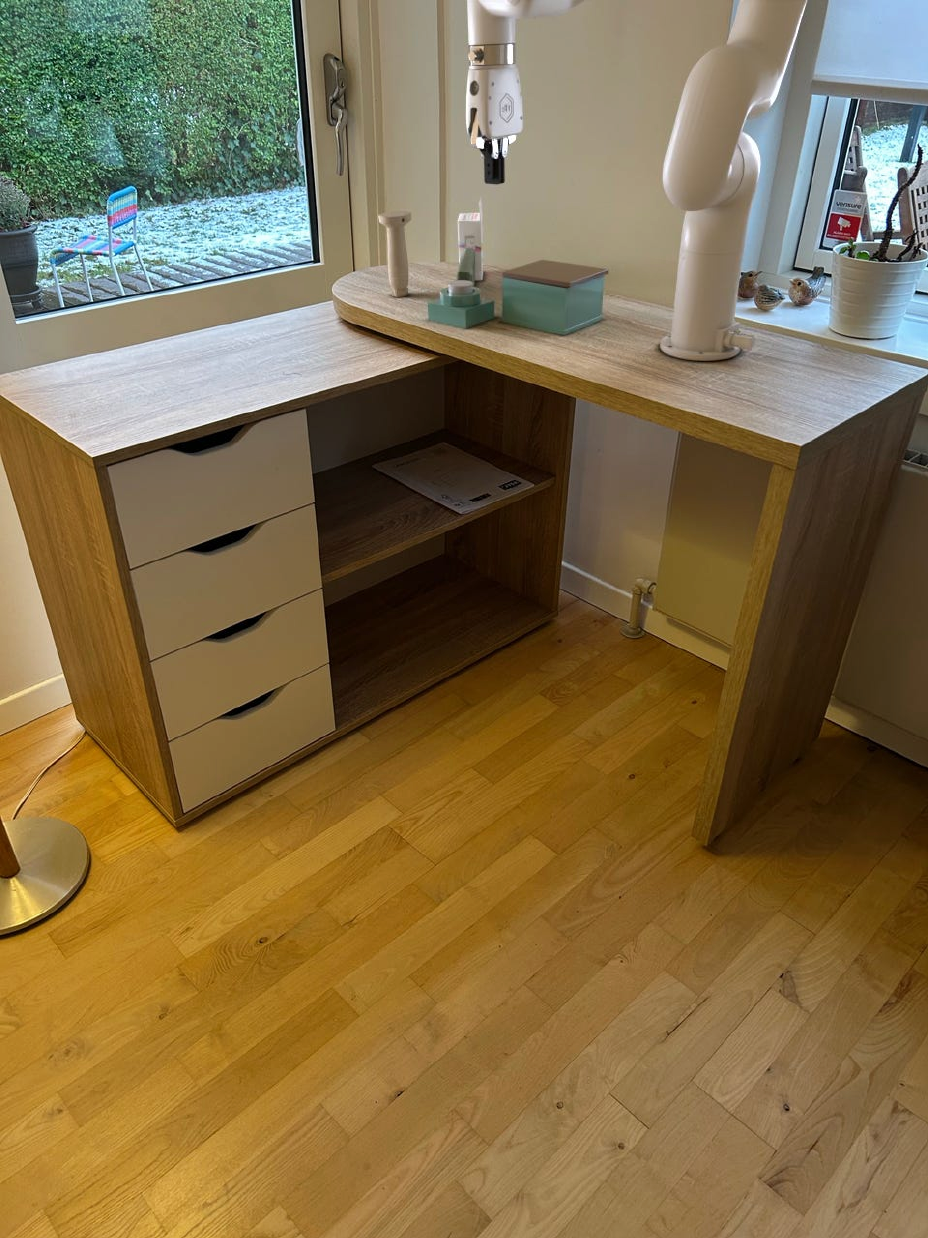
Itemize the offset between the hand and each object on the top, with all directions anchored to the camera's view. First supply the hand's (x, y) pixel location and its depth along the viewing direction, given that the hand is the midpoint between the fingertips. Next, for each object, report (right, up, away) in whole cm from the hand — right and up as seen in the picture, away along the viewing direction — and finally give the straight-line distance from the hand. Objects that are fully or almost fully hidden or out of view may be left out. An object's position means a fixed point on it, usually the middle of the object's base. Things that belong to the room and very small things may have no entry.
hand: (494, 182), depth 156 cm
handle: (-18, -11, +25) cm, 32 cm away
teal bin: (+11, -21, +7) cm, 25 cm away
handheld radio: (-5, -9, +26) cm, 28 cm away
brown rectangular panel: (+11, -15, +2) cm, 18 cm away
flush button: (-6, -16, +7) cm, 19 cm away
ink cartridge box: (-4, -3, +36) cm, 36 cm away
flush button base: (-6, -20, +10) cm, 23 cm away
